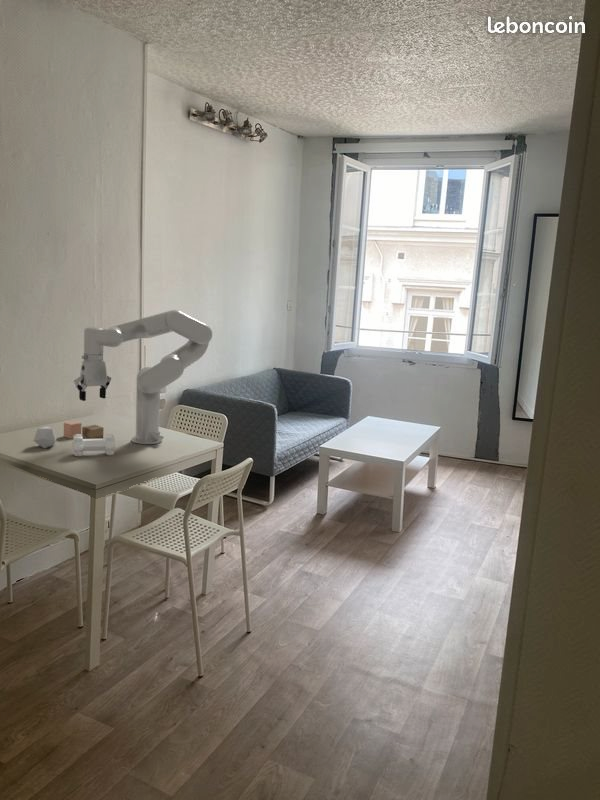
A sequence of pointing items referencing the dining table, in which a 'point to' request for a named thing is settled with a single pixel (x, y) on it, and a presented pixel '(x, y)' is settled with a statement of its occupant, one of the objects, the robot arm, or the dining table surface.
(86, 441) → the dog bone
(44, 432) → the die
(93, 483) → the dining table surface
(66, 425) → the block terracotta
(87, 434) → the block walnut
